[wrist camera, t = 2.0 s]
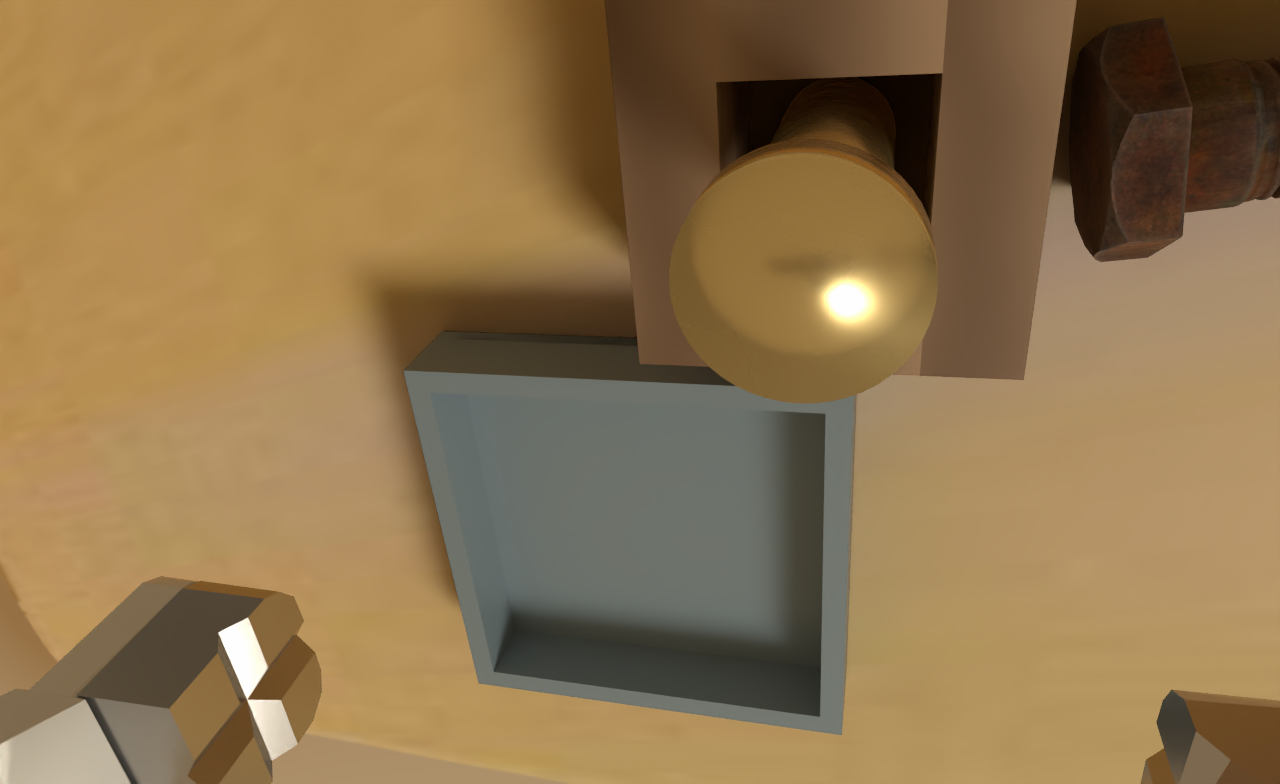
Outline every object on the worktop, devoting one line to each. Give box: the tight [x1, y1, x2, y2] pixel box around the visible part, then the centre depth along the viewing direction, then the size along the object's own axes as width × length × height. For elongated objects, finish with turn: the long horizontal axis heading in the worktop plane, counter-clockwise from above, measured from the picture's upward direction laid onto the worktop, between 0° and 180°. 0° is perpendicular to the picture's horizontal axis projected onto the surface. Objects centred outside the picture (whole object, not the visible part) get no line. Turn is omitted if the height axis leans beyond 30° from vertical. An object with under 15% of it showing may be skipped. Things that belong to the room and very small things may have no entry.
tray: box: [403, 331, 857, 735], centre depth 33 cm, size 15×15×3 cm
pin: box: [669, 77, 938, 403], centre depth 21 cm, size 5×5×11 cm
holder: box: [605, 0, 1077, 380], centre depth 24 cm, size 10×10×5 cm
